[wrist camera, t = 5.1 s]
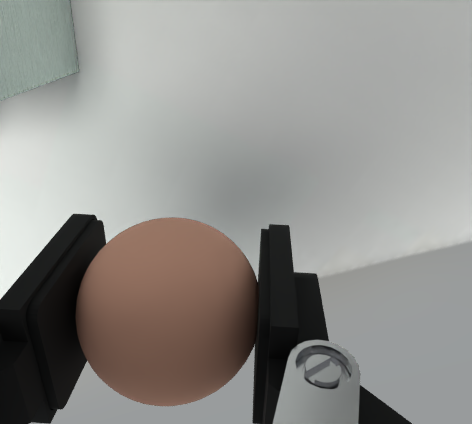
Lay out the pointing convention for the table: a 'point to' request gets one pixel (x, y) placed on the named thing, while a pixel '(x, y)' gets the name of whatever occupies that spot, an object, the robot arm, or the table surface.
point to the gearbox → (35, 44)
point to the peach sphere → (168, 311)
